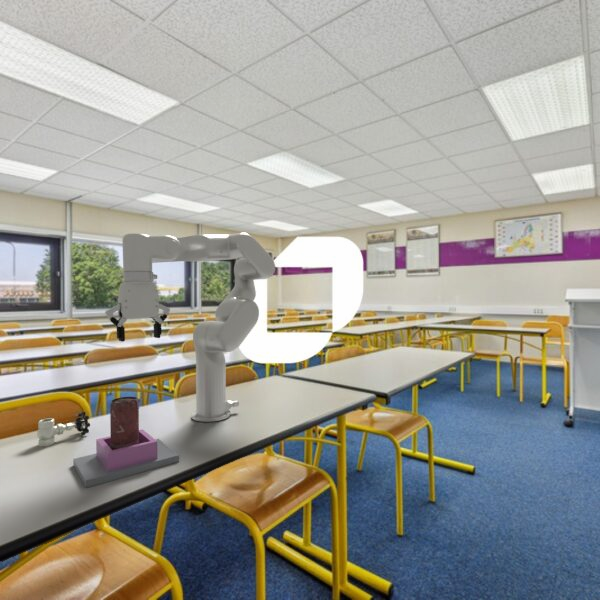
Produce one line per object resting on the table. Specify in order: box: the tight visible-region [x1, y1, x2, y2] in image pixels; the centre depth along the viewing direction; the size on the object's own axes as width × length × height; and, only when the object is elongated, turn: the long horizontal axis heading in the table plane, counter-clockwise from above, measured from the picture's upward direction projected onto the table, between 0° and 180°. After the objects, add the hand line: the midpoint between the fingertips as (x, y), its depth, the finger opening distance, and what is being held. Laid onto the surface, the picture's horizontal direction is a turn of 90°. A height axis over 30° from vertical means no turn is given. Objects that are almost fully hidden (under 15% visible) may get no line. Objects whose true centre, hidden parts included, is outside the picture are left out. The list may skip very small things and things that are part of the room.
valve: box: [36, 411, 91, 447], centre depth 107 cm, size 7×7×12 cm
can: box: [109, 396, 140, 450], centre depth 91 cm, size 6×6×14 cm
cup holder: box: [72, 428, 180, 489], centre depth 92 cm, size 20×14×6 cm
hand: (139, 339), depth 109 cm, fingers open, 9 cm apart
